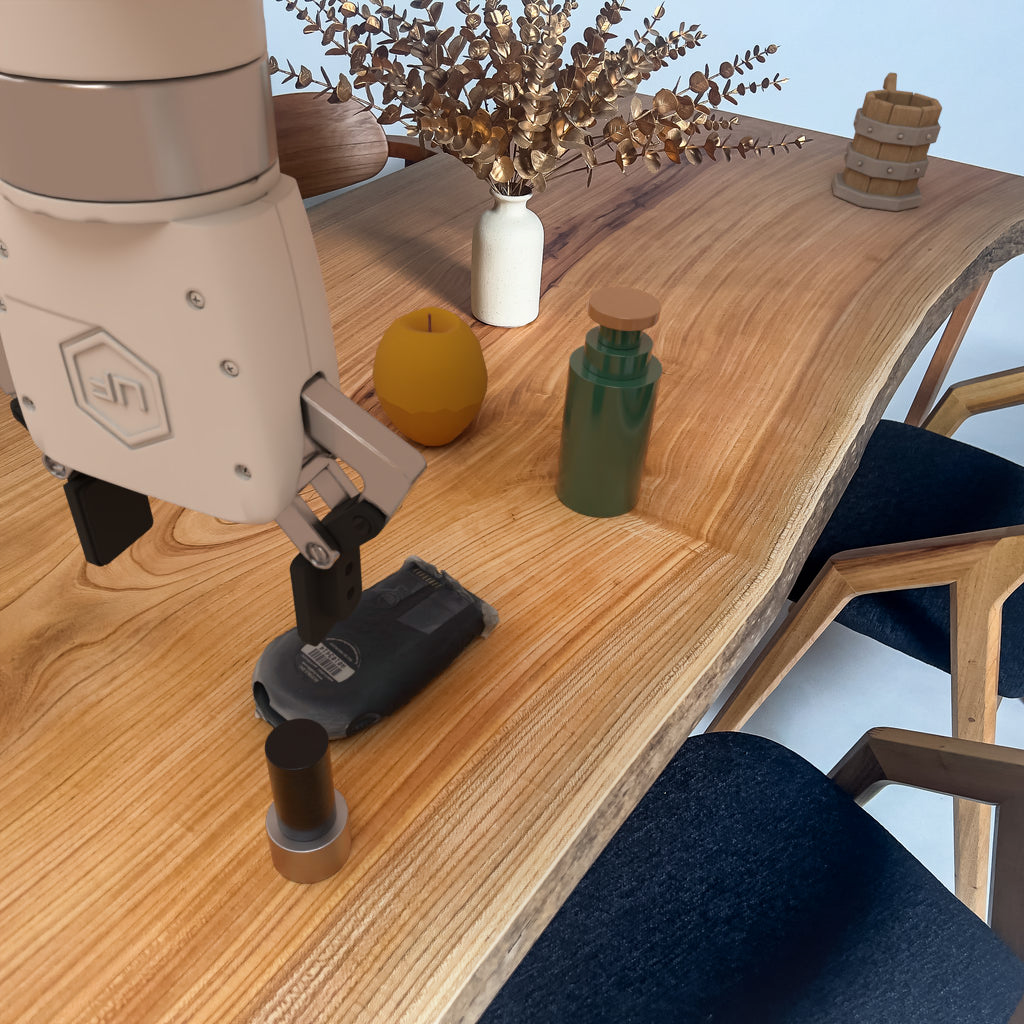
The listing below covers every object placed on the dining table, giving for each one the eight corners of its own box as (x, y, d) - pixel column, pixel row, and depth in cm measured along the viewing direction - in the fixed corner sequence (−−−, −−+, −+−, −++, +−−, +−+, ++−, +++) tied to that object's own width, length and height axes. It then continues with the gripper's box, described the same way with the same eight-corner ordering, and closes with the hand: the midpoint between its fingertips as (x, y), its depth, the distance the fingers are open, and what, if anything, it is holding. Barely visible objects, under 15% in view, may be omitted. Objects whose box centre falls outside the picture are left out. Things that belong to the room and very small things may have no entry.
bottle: (656, 501, 75) (694, 311, 64) (588, 527, 71) (616, 332, 61) (604, 458, 79) (632, 274, 68) (538, 481, 76) (556, 292, 65)
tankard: (922, 215, 133) (960, 107, 123) (834, 204, 134) (864, 96, 125) (906, 173, 148) (938, 74, 139) (827, 164, 150) (853, 65, 140)
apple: (387, 399, 84) (383, 281, 77) (490, 409, 84) (496, 291, 77) (365, 459, 77) (358, 334, 69) (478, 470, 76) (484, 346, 69)
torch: (364, 859, 48) (356, 755, 43) (289, 898, 46) (271, 795, 41) (331, 800, 51) (320, 695, 45) (259, 835, 49) (238, 730, 43)
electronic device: (397, 590, 67) (221, 683, 56) (411, 533, 63) (227, 621, 53) (488, 668, 63) (317, 785, 52) (507, 612, 59) (330, 724, 49)
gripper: (-223, 102, 24) (-25, 573, 35) (336, 229, 20) (368, 727, 30) (1, 52, 30) (113, 471, 40) (478, 141, 25) (463, 589, 36)
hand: (222, 581), depth 35 cm, fingers open, 9 cm apart
